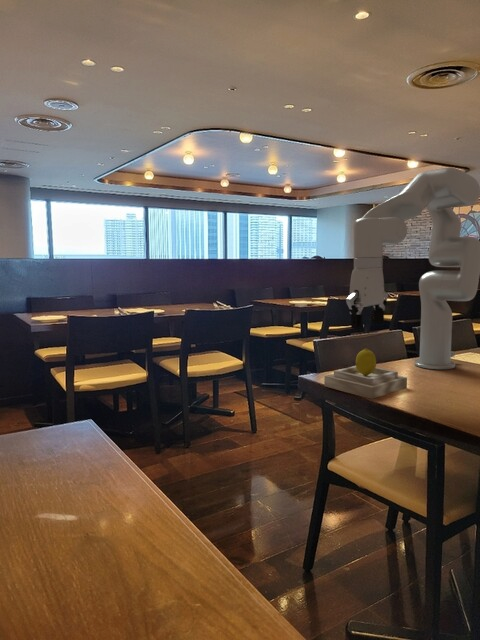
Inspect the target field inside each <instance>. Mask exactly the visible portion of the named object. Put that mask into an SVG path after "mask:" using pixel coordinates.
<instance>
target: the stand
mask: <svg viewBox="0 0 480 640" xmlns="http://www.w3.org/2000/svg"><path fill="white" fill-rule="evenodd" d="M323 378H324V380H323V382H324V387H326V388H330V389H334V390H336V391H341V392H344V393H348V394H352V395H355V396H359V397H364V398H367V399H370V400H371V399H372V400H373V399H375V398H379V397H382V396H386V395H388V394H392V393H394V392H395V393H396V392H398V391H402V390H404V389H407V388H408V376H404V375H399V372H398V371H395V370H391V369H386V368H381V367H377V366H376V367H375V370H374V371H373V372H372V373H371V374H369V375H368V376H366V377H365V376H364V375H363V374H361V373H360V372H359V371H358V370H357V368H356V365H353V366H348V367H345V368H339V369H336V370H333V373H331V374H328V375H324V377H323Z"/></svg>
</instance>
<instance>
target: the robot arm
mask: <svg viewBox="0 0 480 640" xmlns="http://www.w3.org/2000/svg"><path fill="white" fill-rule="evenodd" d="M479 198H480V184H479V182H478V180H477V179H476V178H475V177H474V176H472V175H470V174H469V173H467V172H465V171H464V170H461V169H458V168H457V167H443V168H437V169H431V170H426V171H422V172H420V173H418V174H416V175H415V176H414V177H413V179H411V181H409V182H408V184H407V185H406V186H405V187H404V188H403V189H402V190H401V191H400V192H399V193H398V194H396V195H394V196H392V197H390V198H389V199H386V201H383V202H381V203H379V204H377V205H376V206H374V207H373V208H371V209H370V210H368V211H366V213H365V214H364V215H363V216H362V217H361V218H358V219H356V220H354V223H353V269H352V272H351V275H350V282H349V295H348V297H347V298H345V302H346V305H347V309H348V310H349V314H350V316H351V317H350V318H351V322H350V325H351V326H350V327H351V328H352V329H354V330H362V329H363V314H362V311H363V309H364V308H365V307H367V308H368V307H372V306H373V308H374V309H373V310H372V324H374V325H381V326H383V325H384V324H385V313H384V312H385V310H386V305H387V300H388V297H389V293H388V292H386V291H385V281H384V278H385V277H384V272H383V261H384V260H383V249H384V247H383V246H390V245H392V246H393V245H397V244H399V243H401V242H403V241H404V240H405V238H406V236H407V233H408V228H407V227H408V226H407V224H406V221H410V220H412V219H414V218H416V217H418V216H419V215H420V214H422V212H423V211H424V210H425V209H427V212H428V214H429V215H430V218H431V221H432V227H431V228H432V229H431V237H430V244H429V250H428V262H429V264H430V265H431V266H434V267H437V268H438V267H439V268H460V269H459V270H431V271H427V272H425V273H424V274H422V275H421V276H420V278H419V281H418V290H419V295H420V296H419V297H420V307H421V309H420V334H419V335H420V337H419V358H418V359H415V360H414V365H415V366H416V367H419V368H423V369H428V370H452V369H454V368H456V363H455V362H454V361H451V358H454V357H455V355H456V353H455V352H454V351H452V331H453V330H452V329H453V312H452V308H451V307H450V305H449V304H448V302H447V301H449V302H450V301H451V302H469V301H471V300H474V298H475V297H476V295H477V292H478V288H479V281H480V280H479V279H480V240H479V239H478V238H477V237H473V236H460V235H461V228H462V223H461V222H462V221H461V220H460V218H459V216H458V215H457V214H456V212H455V211H454V210H453V208H460V207H461V208H462V207H469V206H473V205H474V204H475V203H477V202H478V200H479Z"/></svg>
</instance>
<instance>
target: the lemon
mask: <svg viewBox="0 0 480 640" xmlns="http://www.w3.org/2000/svg"><path fill="white" fill-rule="evenodd" d="M355 366H356V368H357V370H358V371H359V372H360V373H361V374H363V375H364V376H365V377H366V376H368V375H369V374H371V373H372V372H373V371H374V370H375V367H376V368H377V359H376V355H375V353H374V352H373V351H372V350H369V349H368V348H364V349H362V350H361V351H359V352H358V353H357V355H356V357H355Z"/></svg>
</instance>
